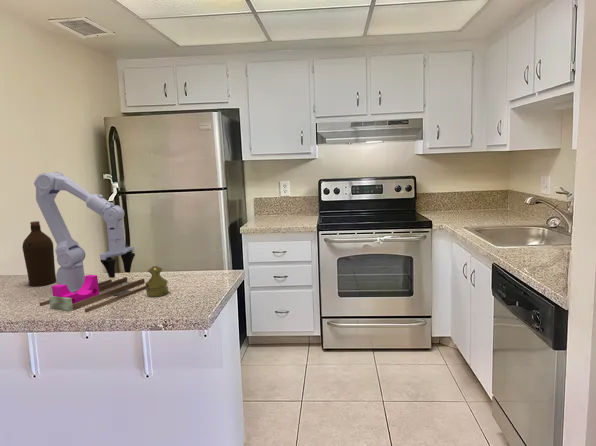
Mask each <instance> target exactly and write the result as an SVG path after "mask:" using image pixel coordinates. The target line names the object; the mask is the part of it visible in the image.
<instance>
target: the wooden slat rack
mask: <svg viewBox="0 0 596 446" xmlns="http://www.w3.org/2000/svg"><path fill="white" fill-rule="evenodd" d="M125 283H127V284H125ZM122 284H125V285H122ZM144 284H146V282H145V278H140V279H138V280H136V281H132V282H130V283H128V277H127V276H124V277H122V278H119V279H116V280H114V281H113V279H112V278H111V279H107V280H104V281H101V282H98V287H99V295H96V296H93V297H90V298H88V299H85V300H82V301H79V302H77V303H74V304H72V298H66V297H57V296H53V295H50V296H48V300H44V301H41V302H39V307H43V306H46V305H49V308H50V309H52V310H53V309H54V310H60V311H61V310H62V311H67V312H73V311H75V310H78V309H80V308H83V307H85V306H89V305H91V304H93V303H96V304H93V305H91V306H89V307H86V308H84V312H85V313H88V312H91V311H93V310H97V309H98V308H101V307H103V306H106V305H108V304H111V303H114V302H116V301H118V300H122V299H125V298H126V297H129V296H132V295H134V294H136V293H139V292H142V291H144V290H146V289H147V287H146V285H144ZM119 285H121V286H119ZM141 285H143V286H141ZM117 286H118V287H117ZM138 286H140V287H138ZM114 287H116V288H114ZM136 287H138V288H136ZM111 288H113V289H111ZM133 288H135V289H133ZM109 289H110V290H109ZM130 289H133V290H130ZM106 290H107V291H106ZM77 291H78V290H77ZM77 291H74V292H72V293H75V292H77ZM102 291H105V292H102ZM100 292H102V293H100ZM112 296H114V297H112ZM109 297H112V298H110V299H107V300H104V299H106V298H109ZM102 300H104V301H102ZM98 301H99V302H100V301H102V302H100V303H97V302H98Z"/></svg>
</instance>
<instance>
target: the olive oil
mask: <svg viewBox="0 0 596 446" xmlns="http://www.w3.org/2000/svg"><path fill="white" fill-rule="evenodd" d="M22 253H23V258H24V261H25V269H26V272H27V273H26V274H27V278H28V284H29V286H30V287H43V286H44V287H45V286H49V285H52V284H55V283H56V281H57V274H56V266H55V249H54V242H53V240H52V238H51V237H50V236H49V235H47V234H45V233H44V232H43V231H42V229H41V224H40V221H39V220H38V221H36V220H35V221H30V233H29V234H28V235H27V236H26V237H25V239H24V240H23V242H22Z"/></svg>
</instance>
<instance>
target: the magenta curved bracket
mask: <svg viewBox="0 0 596 446" xmlns="http://www.w3.org/2000/svg"><path fill="white" fill-rule="evenodd" d="M98 283H99V278H98V274H97V275H96V274H87V275H85V280H84V283H83V285H82V287H81V288H80V289H79V290H78V291H77V292H75V293H72V292H70V291H69V289H68V287H67V285H63V284H58V283H57V284H55V285H54V284H53V285H52V286H51V292H52V296H57V297H66V298H72V304H74V303H77V302H79V301H82V300H85V299H88V298H90V297H93V296H96V295H99V294H100V292H99V287H98Z"/></svg>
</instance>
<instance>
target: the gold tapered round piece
mask: <svg viewBox="0 0 596 446" xmlns="http://www.w3.org/2000/svg"><path fill="white" fill-rule="evenodd" d="M163 270H164V269H163V267H161V266H158V265H153V266H152V267H150V268H148V270H147V272H148V273H150V275H151V277H150V278H149V280H147V281H146V282H145V286H146V287H147V289H145V291H146V296H147V297H150V298H158V297H162V296H166V295H168V293H169V286H168V282H169V281H168V280H167V279H166V278H164V277H163V276H161V272H163Z"/></svg>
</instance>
